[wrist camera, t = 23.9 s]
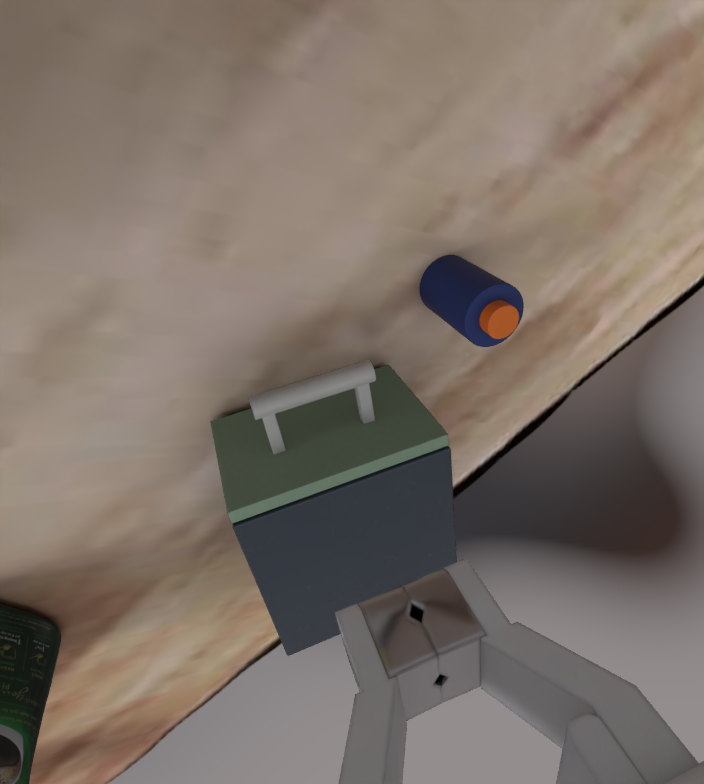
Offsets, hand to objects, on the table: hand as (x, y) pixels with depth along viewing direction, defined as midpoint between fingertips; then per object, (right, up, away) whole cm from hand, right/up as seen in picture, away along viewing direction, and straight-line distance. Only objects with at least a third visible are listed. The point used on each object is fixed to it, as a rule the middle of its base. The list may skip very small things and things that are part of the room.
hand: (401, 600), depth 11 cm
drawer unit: (-4, -2, +31) cm, 31 cm away
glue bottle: (+6, +12, +26) cm, 29 cm away
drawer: (-4, +1, +29) cm, 29 cm away
